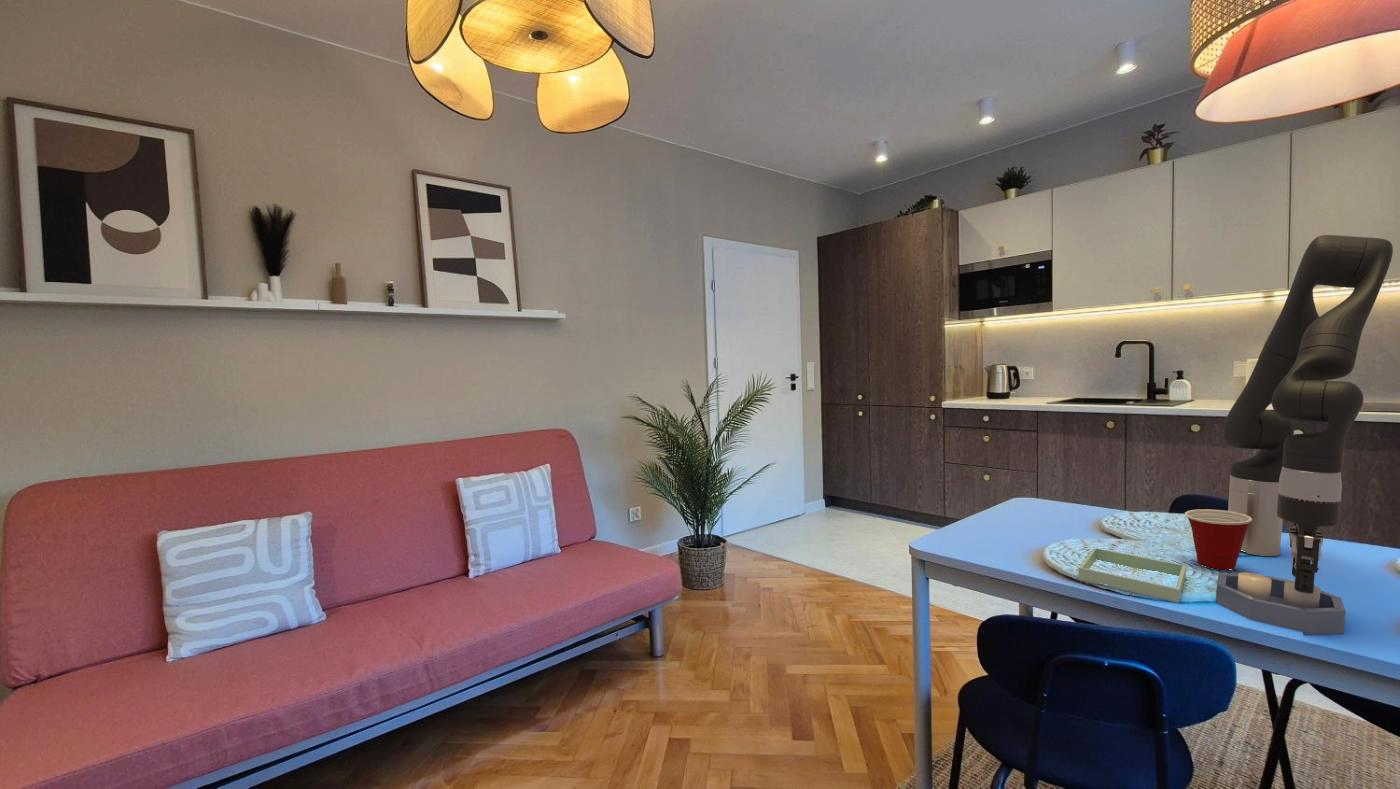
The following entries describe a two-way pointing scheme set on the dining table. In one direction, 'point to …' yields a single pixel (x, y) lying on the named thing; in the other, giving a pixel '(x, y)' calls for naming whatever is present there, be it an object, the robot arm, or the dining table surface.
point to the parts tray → (1134, 563)
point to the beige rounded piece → (1300, 596)
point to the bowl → (1282, 608)
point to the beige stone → (1255, 585)
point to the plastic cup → (1218, 536)
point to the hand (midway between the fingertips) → (1301, 584)
